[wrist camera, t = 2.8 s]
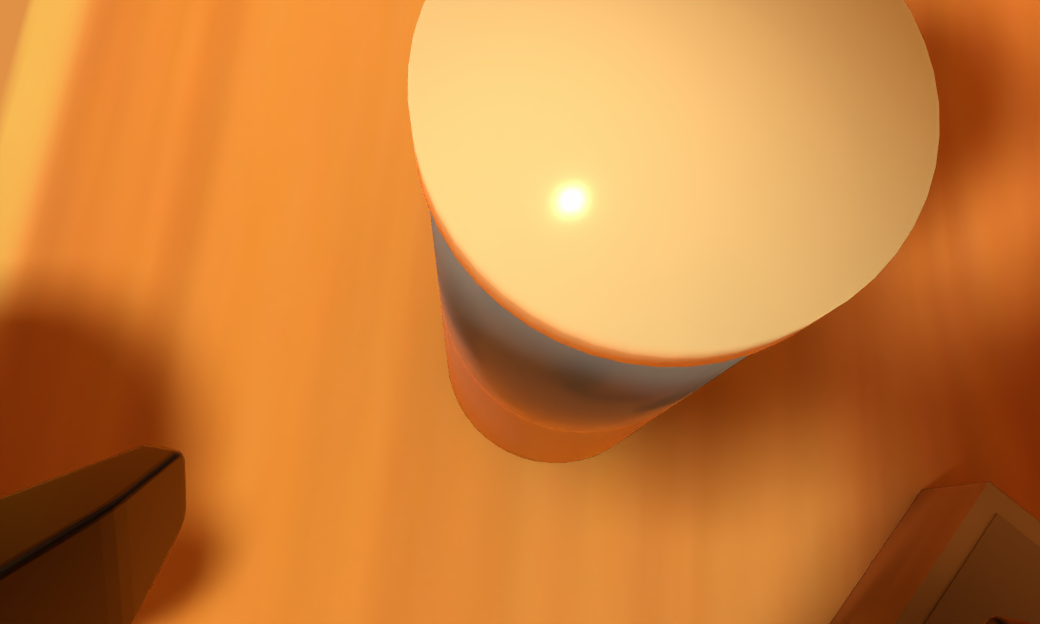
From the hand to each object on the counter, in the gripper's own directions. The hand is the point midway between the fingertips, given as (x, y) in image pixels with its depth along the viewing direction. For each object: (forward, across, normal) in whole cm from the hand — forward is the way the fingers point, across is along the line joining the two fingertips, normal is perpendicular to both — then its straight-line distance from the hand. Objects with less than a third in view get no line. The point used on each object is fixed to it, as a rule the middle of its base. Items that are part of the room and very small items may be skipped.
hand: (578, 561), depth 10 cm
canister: (+12, 0, -5) cm, 13 cm away
